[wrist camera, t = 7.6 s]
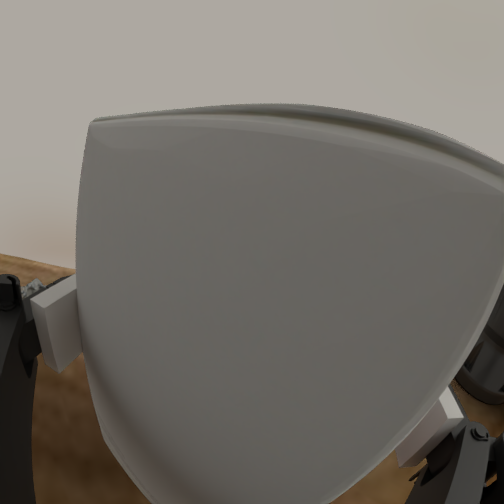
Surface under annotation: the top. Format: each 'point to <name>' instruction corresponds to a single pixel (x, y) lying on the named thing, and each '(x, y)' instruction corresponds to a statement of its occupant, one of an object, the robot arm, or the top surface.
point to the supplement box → (276, 292)
